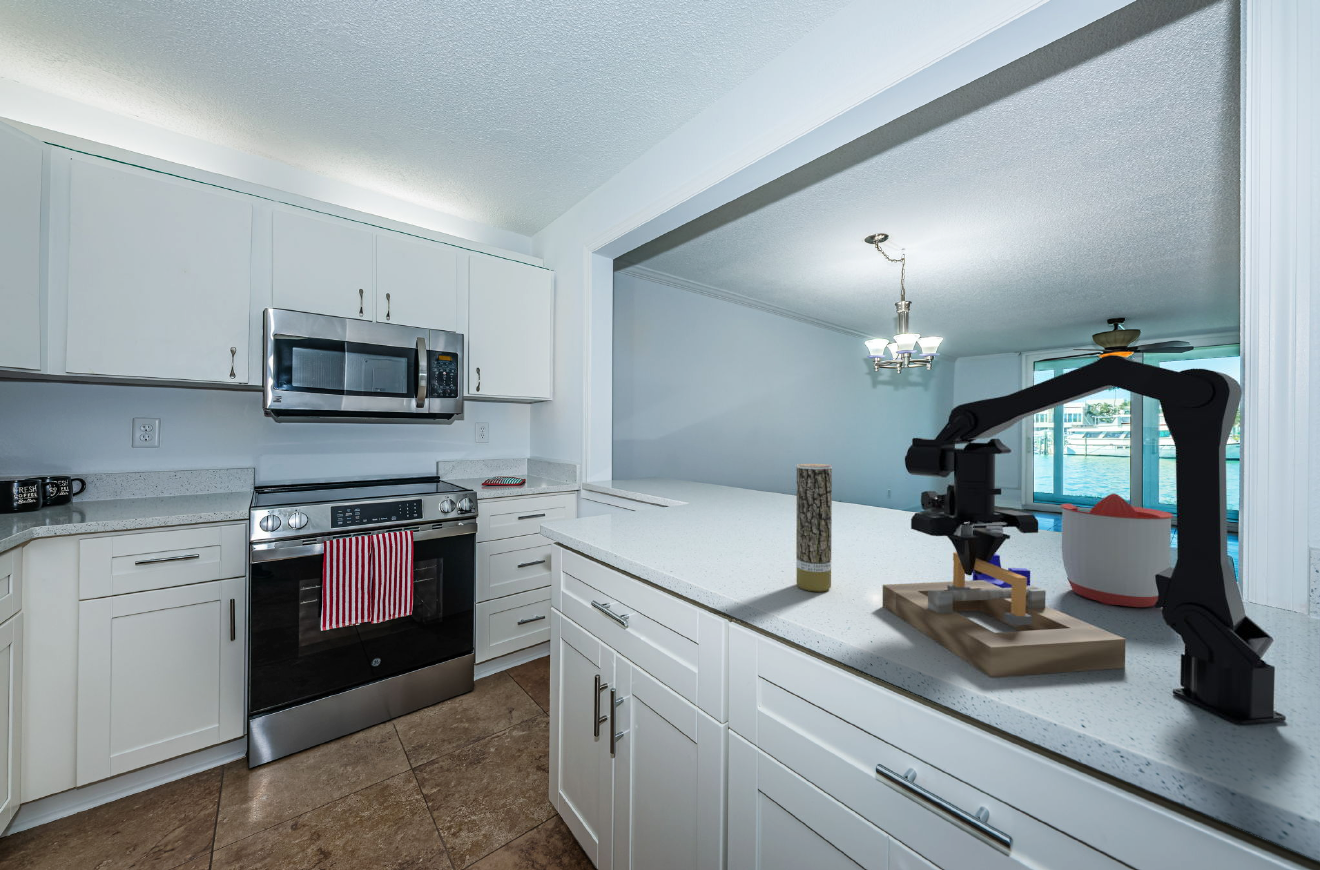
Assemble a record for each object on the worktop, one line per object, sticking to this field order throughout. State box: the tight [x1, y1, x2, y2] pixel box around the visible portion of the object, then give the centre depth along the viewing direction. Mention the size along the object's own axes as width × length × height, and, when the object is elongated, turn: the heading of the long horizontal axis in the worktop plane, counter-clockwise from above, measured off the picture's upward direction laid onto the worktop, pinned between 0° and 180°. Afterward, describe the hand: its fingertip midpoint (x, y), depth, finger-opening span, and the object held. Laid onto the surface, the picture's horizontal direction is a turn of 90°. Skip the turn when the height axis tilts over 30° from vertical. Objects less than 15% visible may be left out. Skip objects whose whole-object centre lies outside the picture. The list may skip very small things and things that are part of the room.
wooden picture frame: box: [882, 580, 1126, 678], centre depth 77 cm, size 25×20×7 cm
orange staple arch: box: [947, 551, 1032, 625], centre depth 77 cm, size 14×3×7 cm, turn 7°
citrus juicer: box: [1060, 493, 1174, 608], centre depth 93 cm, size 16×17×20 cm
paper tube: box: [795, 463, 833, 593], centre depth 99 cm, size 7×7×25 cm
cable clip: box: [972, 553, 1031, 588], centre depth 97 cm, size 12×4×6 cm, turn 171°
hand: (973, 574), depth 80 cm, fingers closed on orange staple arch
